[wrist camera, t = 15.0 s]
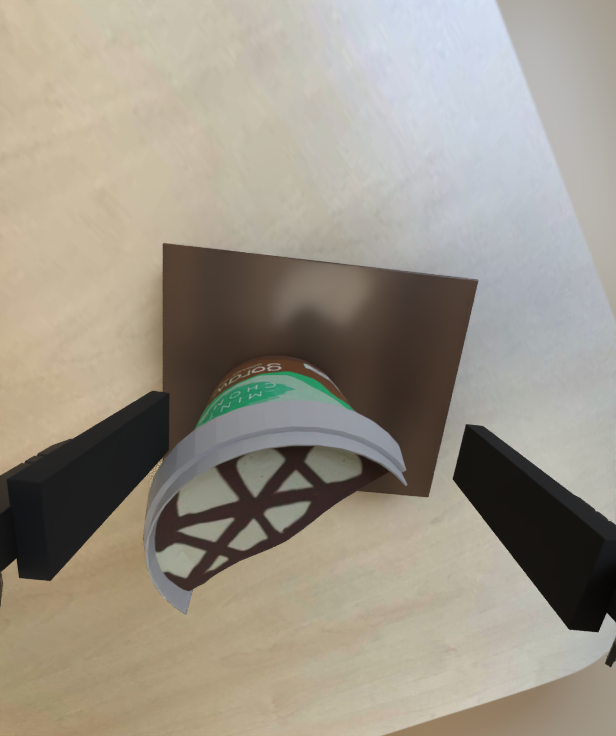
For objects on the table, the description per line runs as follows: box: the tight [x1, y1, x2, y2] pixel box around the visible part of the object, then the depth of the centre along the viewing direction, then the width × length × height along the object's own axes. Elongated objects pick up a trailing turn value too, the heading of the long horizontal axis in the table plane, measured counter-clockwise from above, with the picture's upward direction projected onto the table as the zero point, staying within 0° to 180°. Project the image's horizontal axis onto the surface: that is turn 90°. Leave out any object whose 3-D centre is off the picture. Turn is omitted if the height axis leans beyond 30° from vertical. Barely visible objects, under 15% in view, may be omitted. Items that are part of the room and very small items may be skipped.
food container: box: [143, 355, 407, 615], centre depth 16 cm, size 12×6×10 cm, turn 125°
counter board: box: [163, 243, 478, 497], centre depth 23 cm, size 20×16×3 cm
